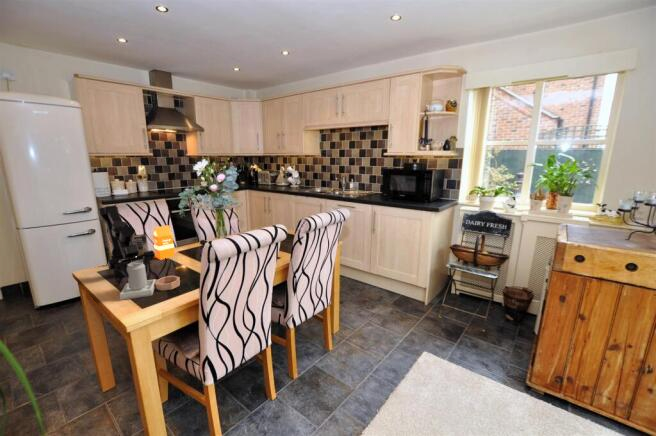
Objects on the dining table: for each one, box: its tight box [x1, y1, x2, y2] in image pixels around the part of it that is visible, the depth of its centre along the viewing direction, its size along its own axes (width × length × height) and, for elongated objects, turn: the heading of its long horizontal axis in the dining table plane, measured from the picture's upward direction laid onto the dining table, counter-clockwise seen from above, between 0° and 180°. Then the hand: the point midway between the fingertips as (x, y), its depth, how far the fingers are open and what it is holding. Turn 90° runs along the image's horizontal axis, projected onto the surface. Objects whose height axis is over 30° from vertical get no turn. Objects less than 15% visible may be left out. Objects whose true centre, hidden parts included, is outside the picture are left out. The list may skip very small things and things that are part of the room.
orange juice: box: [152, 224, 175, 261], centre depth 193 cm, size 8×9×20 cm
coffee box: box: [131, 233, 149, 263], centre depth 186 cm, size 9×6×16 cm
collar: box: [155, 275, 181, 291], centre depth 152 cm, size 10×10×3 cm
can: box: [126, 262, 148, 290], centre depth 144 cm, size 8×8×12 cm
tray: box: [119, 278, 157, 301], centre depth 145 cm, size 13×13×3 cm
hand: (137, 274), depth 143 cm, fingers closed on can, 7 cm apart
